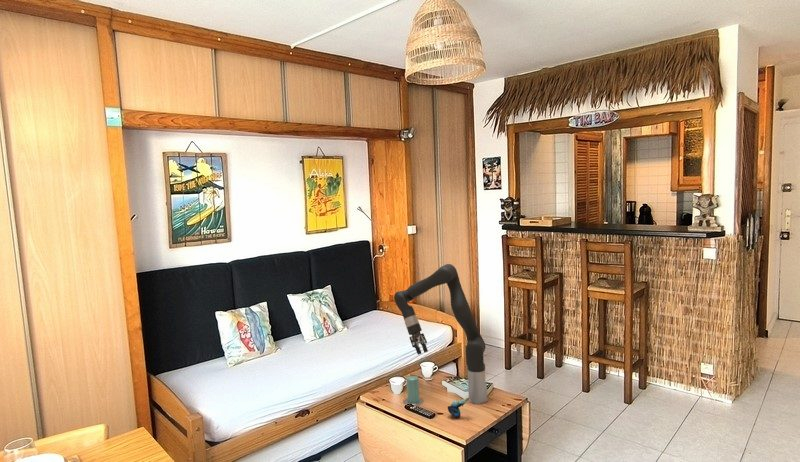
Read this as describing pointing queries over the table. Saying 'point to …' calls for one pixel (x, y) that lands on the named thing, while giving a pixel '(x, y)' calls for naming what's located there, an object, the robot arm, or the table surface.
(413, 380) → the green cylinder
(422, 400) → the slate plate
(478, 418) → the table surface
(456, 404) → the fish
